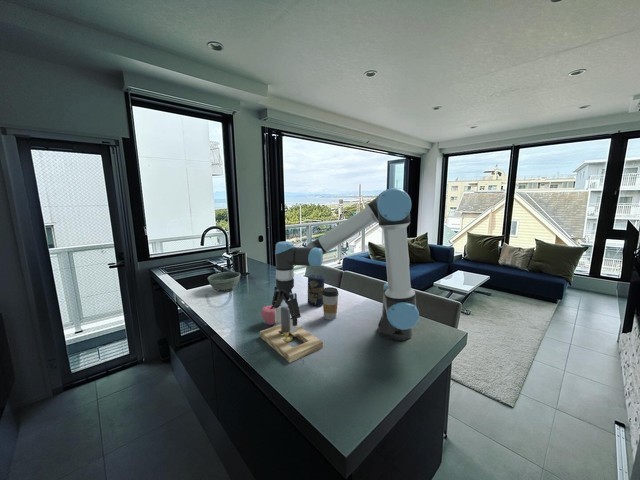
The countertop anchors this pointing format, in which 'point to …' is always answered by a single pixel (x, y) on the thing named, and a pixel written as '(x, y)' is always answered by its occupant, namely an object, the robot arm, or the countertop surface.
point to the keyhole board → (290, 354)
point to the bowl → (224, 280)
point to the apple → (268, 314)
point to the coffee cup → (330, 302)
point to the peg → (286, 324)
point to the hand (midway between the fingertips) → (285, 326)
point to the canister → (315, 290)
